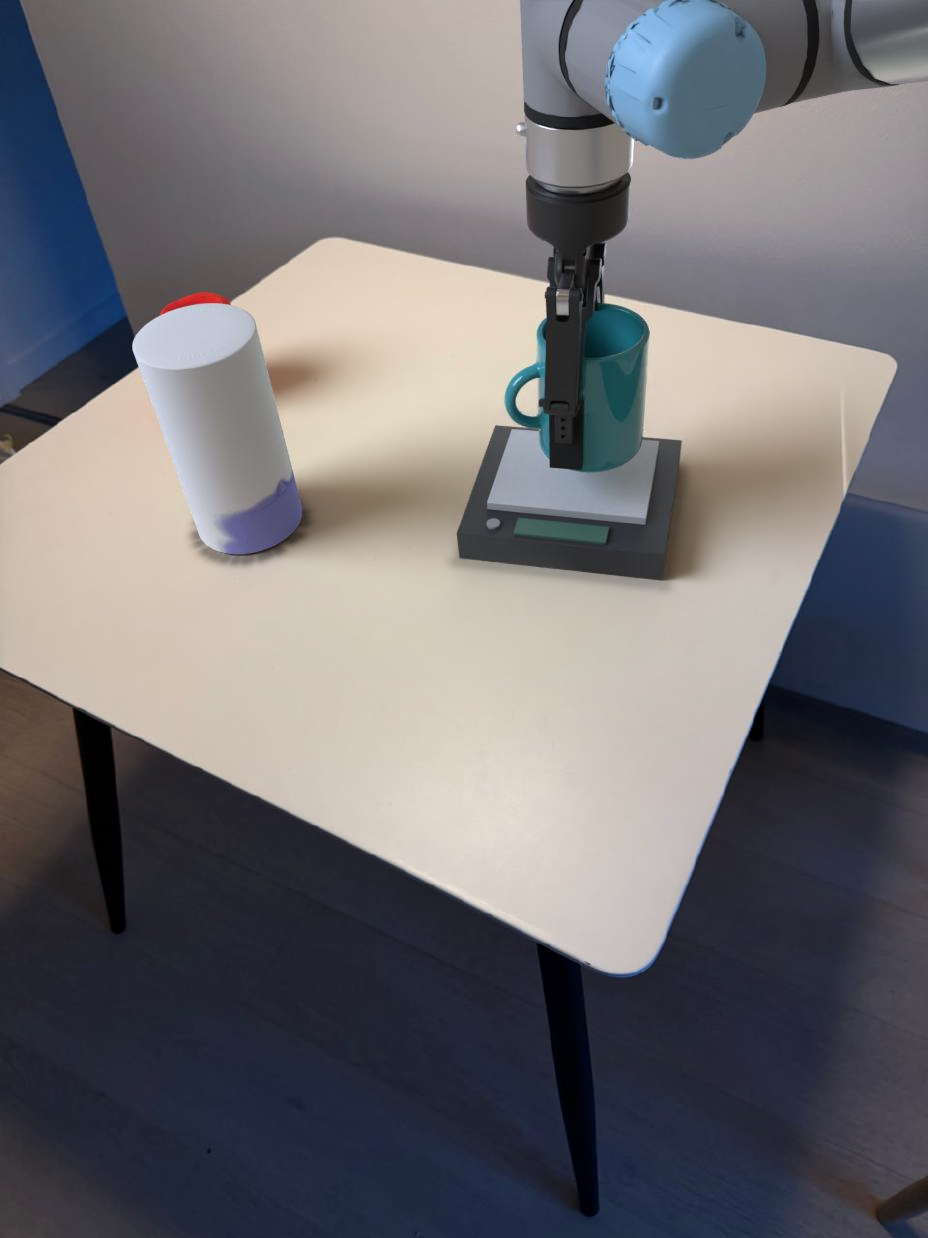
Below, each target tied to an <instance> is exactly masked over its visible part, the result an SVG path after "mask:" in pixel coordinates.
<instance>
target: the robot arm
mask: <svg viewBox="0 0 928 1238" xmlns="http://www.w3.org/2000/svg"><path fill="white" fill-rule="evenodd" d="M519 10H520V12H519V13H520V34H521V35H520V37H521V39H520V40H521V63H522V65H521V66H522V86H523V87H522V89H523V91H522V92H523V113H524V121H519V122H518V123H517V126H516V129H515V131H516V135H517V136H518V137H521V138H525V139H526V143H525V147H524V151H525V153H524V155H525V156H524V157H525V169H526V172H527V174H528V176H527V177H526V178H525V179H526V180H525V211H526V212H525V213H526V217H525V218H526V225H527V228H528V230H529V231H530V233H531V234H532V235H533V236H534V237H536V238H537V239H539V240H540V241H543V242H546V243H548V244H549V245H551V246H552V247H553V249H552V255H553V256H552V255H551V256H548V260H547V269H546V278H547V280H548V282H549V286H547V287H546V289H545V291H544V299H545V315H546V316H545V317H546V319H547V322H546V357H545V392H544V398H541V399H540V400H539V407H543V409H544V414H549V461H550V468H559V469H570V470H582V466H583V421H584V400H582V399H581V391H582V377H583V358H584V354H585V341H586V329H587V321H588V319H590V318H591V317H592V316H593V315H594V311H598V305H599V303H606V302H605V297H606V296H605V263H606V257H607V241H610V240H613V239H614V238H616V237H617V236H619V235H620V234H621V233H622V232H623V231H624V230H625V229H626V227H628V224H629V221H630V207H631V189H632V188H631V187H632V177H631V175H630V174H631V173H630V172H629V171H630V169H631V168H632V167H633V161H634V147H635V144H634V143H635V142H640V143H641V144H642V145H644V146H645V147H646V146H650V147H652V148H654V149H656V150H658V151H659V152H662V153H663V154H665V155H667V156H668V157H672V158H676V159H680V160H696V159H701V158H705V157H708V156H711V155H713V154H715V153H717V152H718V151H719V150H721V149H722V148H723V146H724V145H725V144H727V143H728V142H729V141H730V140H731V139H733V138H734V137H736V136H738V135H739V134H740V133H741V132H742V131H744V129H745V128H746V127H747V125H748V124H749V123H750V121H751V119H752V118H753V116H754V114H758V113H762V112H767V111H771V110H773V109H778V108H782V107H786V106H788V105H791V104H795V103H799V102H800V103H801V102H804V101H809V100H814V99H818V98H823V97H827V96H832V95H836V94H840V93H846V92H852V91H860V90H861V91H862V90H871V89H880V88H889V87H897V86H900V85H903V84H904V85H905V84H915V83H924V82H925V83H926V82H928V0H519ZM582 307H585V308H582Z"/></svg>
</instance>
